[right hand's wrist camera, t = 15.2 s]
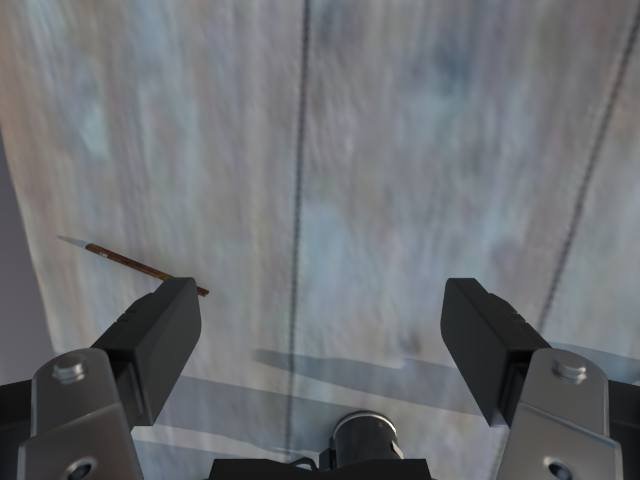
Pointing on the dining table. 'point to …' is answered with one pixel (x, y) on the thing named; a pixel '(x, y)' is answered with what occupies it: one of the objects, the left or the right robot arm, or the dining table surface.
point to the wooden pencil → (135, 265)
